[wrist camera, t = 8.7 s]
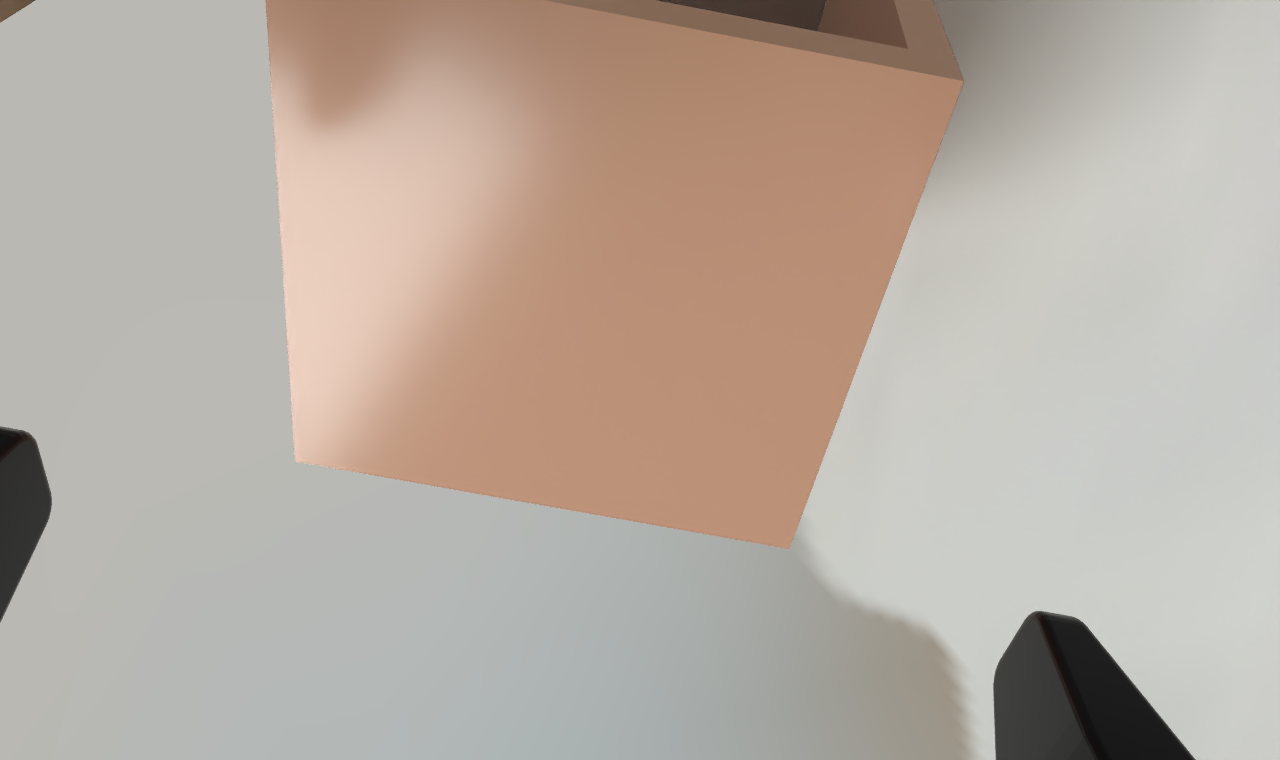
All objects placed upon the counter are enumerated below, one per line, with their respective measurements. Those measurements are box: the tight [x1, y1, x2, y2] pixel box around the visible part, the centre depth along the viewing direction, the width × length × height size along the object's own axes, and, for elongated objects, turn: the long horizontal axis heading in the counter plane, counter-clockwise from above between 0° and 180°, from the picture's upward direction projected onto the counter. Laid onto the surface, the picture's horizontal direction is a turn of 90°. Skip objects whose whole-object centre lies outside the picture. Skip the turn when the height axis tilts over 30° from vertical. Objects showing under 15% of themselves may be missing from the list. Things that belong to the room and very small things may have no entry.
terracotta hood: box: [266, 0, 964, 549], centre depth 15 cm, size 7×7×8 cm
